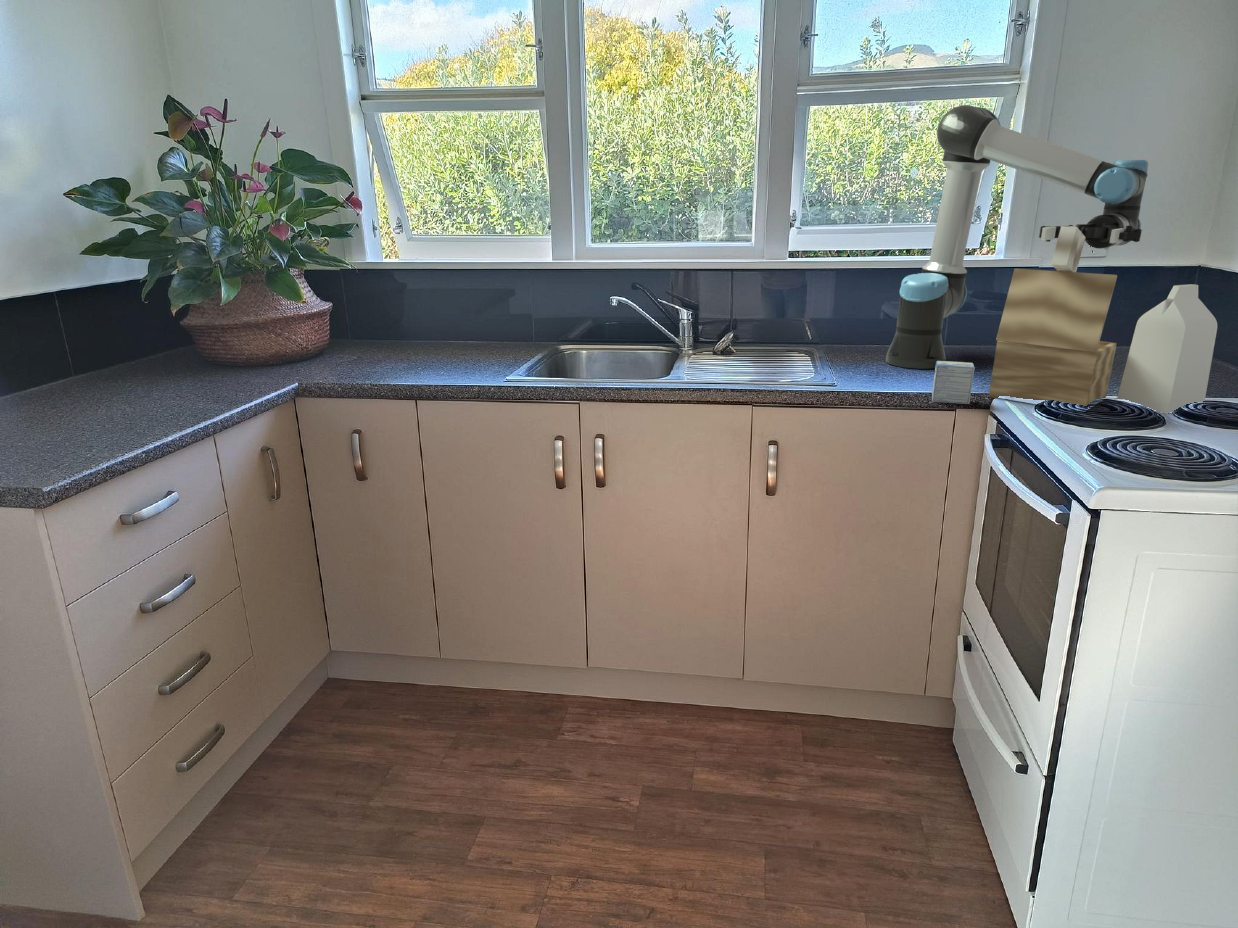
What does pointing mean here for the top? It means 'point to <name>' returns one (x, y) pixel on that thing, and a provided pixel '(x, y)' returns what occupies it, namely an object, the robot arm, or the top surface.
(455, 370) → the top surface
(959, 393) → the grey wooden block
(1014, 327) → the lid
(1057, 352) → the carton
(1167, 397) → the milk
